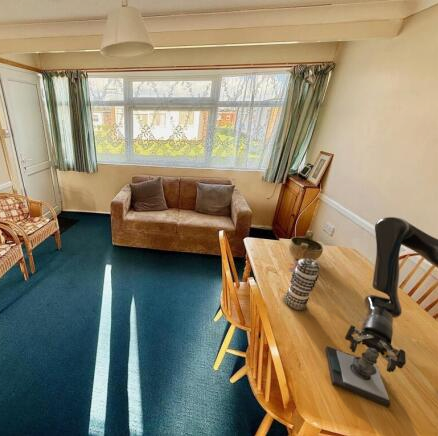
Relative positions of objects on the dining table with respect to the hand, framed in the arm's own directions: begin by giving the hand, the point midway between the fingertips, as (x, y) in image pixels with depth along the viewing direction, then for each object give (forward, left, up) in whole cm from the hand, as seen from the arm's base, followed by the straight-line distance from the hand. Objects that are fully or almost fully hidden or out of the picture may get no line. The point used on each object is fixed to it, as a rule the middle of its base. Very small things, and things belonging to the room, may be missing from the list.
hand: (371, 359), depth 72 cm
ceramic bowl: (+11, -75, -12) cm, 77 cm away
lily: (+14, -54, -12) cm, 57 cm away
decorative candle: (+17, -29, -12) cm, 36 cm away
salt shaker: (0, -1, -8) cm, 8 cm away
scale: (+1, -1, -12) cm, 12 cm away
